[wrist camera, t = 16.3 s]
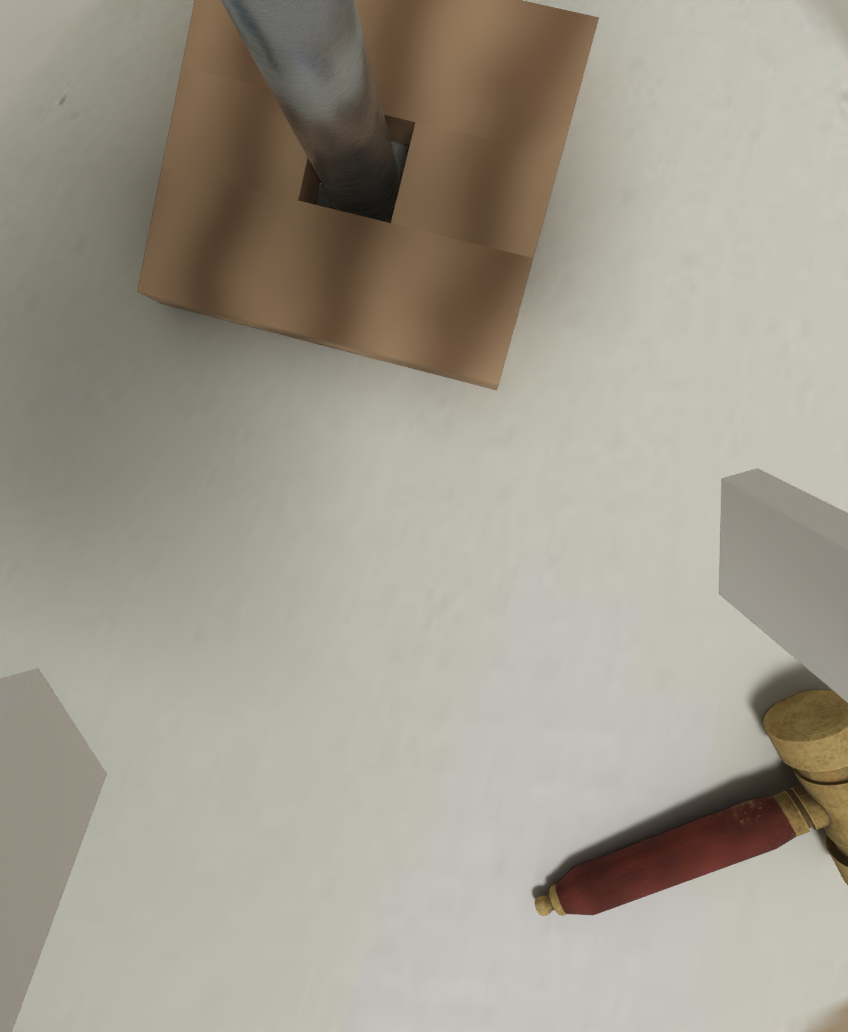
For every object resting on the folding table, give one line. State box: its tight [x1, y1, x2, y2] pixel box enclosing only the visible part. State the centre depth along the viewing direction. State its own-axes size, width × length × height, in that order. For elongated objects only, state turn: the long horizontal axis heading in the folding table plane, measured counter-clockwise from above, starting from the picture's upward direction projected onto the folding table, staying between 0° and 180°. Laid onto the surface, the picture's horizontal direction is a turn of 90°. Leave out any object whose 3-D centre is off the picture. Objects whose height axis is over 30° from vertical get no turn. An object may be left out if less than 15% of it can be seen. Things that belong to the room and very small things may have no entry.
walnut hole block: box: [137, 0, 599, 390], centre depth 31 cm, size 20×18×2 cm
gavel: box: [535, 690, 848, 916], centre depth 33 cm, size 21×5×10 cm
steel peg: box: [221, 0, 401, 220], centre depth 24 cm, size 4×4×18 cm
